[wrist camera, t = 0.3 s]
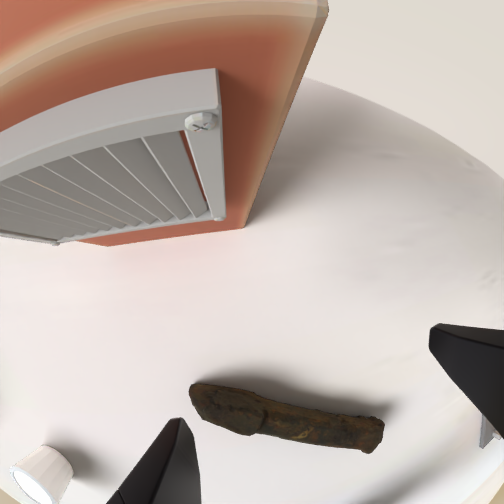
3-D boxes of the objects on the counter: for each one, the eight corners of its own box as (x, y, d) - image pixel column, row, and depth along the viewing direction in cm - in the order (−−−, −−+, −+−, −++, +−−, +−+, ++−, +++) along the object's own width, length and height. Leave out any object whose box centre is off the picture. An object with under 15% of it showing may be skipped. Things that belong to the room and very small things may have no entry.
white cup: (27, 436, 20) (0, 459, 13) (65, 446, 21) (38, 476, 14) (47, 474, 20) (26, 499, 13) (85, 485, 20) (66, 516, 13)
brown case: (92, 184, 23) (250, 159, 24) (95, 259, 22) (261, 237, 24) (-82, 65, 1) (309, -85, 3) (-131, 237, 1) (442, 73, 2)
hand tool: (374, 411, 24) (395, 430, 19) (356, 441, 24) (374, 462, 19) (203, 357, 23) (198, 376, 19) (187, 393, 23) (179, 416, 18)
